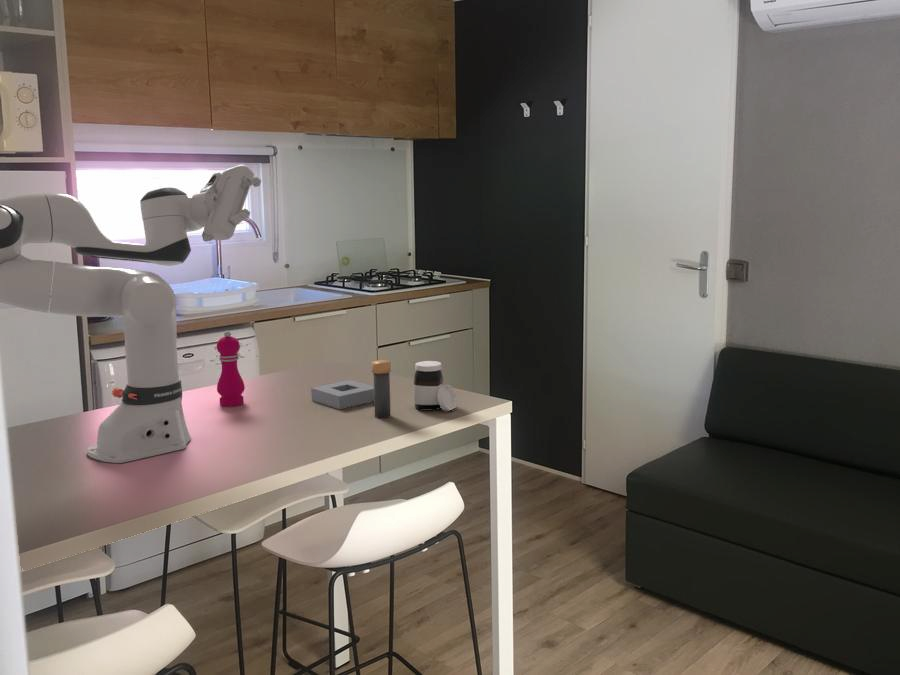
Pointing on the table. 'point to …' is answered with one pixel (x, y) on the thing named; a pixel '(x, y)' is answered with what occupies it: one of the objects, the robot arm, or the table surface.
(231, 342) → the pepper mill
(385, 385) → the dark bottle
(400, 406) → the table surface
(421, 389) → the spread jar
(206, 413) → the table surface
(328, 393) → the socket
